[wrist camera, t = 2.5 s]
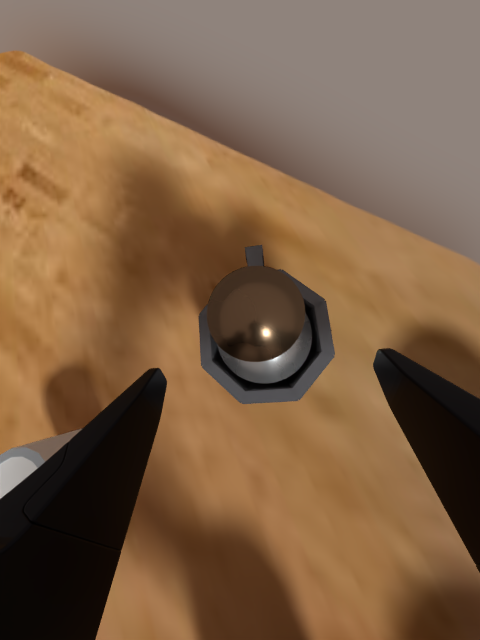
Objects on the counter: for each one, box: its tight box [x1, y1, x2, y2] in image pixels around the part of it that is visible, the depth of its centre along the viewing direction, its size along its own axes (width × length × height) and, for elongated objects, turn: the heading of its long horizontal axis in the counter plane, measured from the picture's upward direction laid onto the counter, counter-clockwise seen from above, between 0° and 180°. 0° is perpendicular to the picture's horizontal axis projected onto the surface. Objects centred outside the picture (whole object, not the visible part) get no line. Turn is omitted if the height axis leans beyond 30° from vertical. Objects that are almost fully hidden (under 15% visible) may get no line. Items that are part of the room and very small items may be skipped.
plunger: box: [207, 266, 312, 383], centre depth 11 cm, size 7×7×8 cm
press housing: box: [199, 245, 335, 404], centre depth 18 cm, size 13×11×8 cm
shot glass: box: [0, 428, 83, 499], centre depth 19 cm, size 7×7×7 cm
